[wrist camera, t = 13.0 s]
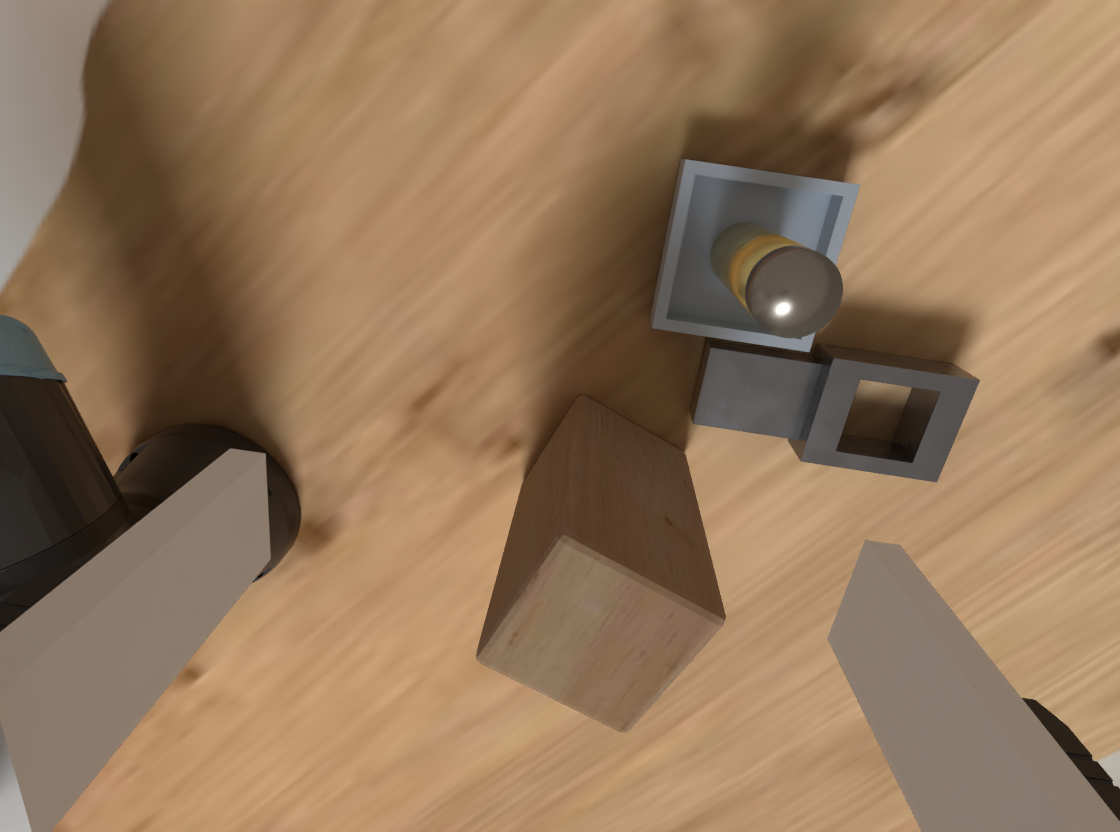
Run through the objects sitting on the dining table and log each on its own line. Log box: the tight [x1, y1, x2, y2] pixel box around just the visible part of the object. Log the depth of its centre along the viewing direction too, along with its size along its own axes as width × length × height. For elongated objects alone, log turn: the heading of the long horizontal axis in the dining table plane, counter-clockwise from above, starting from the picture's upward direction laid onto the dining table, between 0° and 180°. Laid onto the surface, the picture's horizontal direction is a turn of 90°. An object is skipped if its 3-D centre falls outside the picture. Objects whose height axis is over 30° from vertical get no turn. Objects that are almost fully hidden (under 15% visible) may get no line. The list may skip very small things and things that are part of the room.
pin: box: [710, 222, 843, 338], centre depth 37 cm, size 4×4×14 cm
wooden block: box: [476, 395, 726, 732], centre depth 42 cm, size 10×10×20 cm
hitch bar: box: [690, 340, 980, 482], centre depth 46 cm, size 18×8×4 cm, turn 82°
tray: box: [650, 159, 860, 352], centre depth 43 cm, size 11×11×3 cm
